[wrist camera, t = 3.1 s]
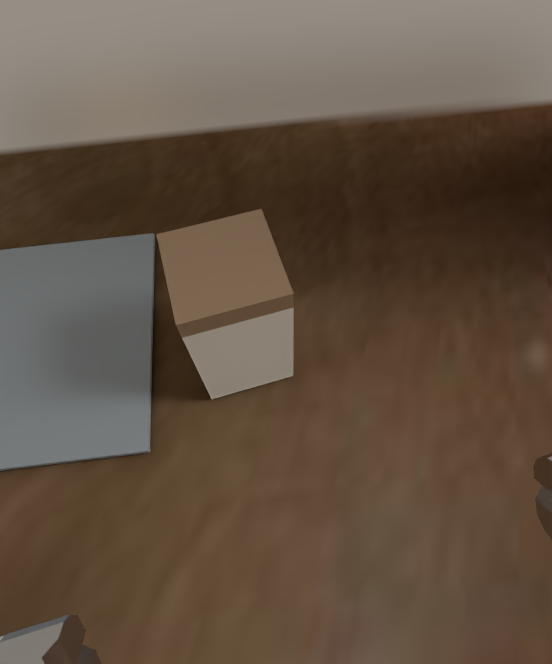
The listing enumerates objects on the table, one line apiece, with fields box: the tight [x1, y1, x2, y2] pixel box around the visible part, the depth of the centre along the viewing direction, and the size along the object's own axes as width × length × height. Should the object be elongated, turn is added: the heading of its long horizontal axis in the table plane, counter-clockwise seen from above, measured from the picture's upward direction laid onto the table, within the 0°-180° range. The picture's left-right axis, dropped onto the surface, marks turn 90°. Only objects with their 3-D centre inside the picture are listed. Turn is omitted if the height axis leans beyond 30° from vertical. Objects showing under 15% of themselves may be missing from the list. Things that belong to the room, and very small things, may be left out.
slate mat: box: [0, 233, 155, 471], centre depth 25 cm, size 14×14×1 cm
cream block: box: [156, 209, 294, 399], centre depth 21 cm, size 4×4×8 cm
